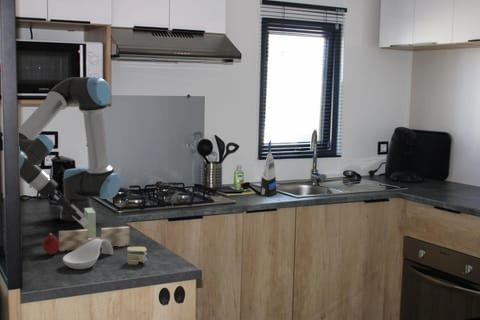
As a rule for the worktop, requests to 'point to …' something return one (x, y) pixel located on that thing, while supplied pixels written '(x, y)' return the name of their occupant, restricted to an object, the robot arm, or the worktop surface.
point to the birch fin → (80, 238)
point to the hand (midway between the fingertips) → (84, 220)
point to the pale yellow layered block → (136, 255)
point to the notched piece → (90, 222)
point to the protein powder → (268, 176)
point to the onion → (51, 244)
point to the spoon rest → (87, 254)
